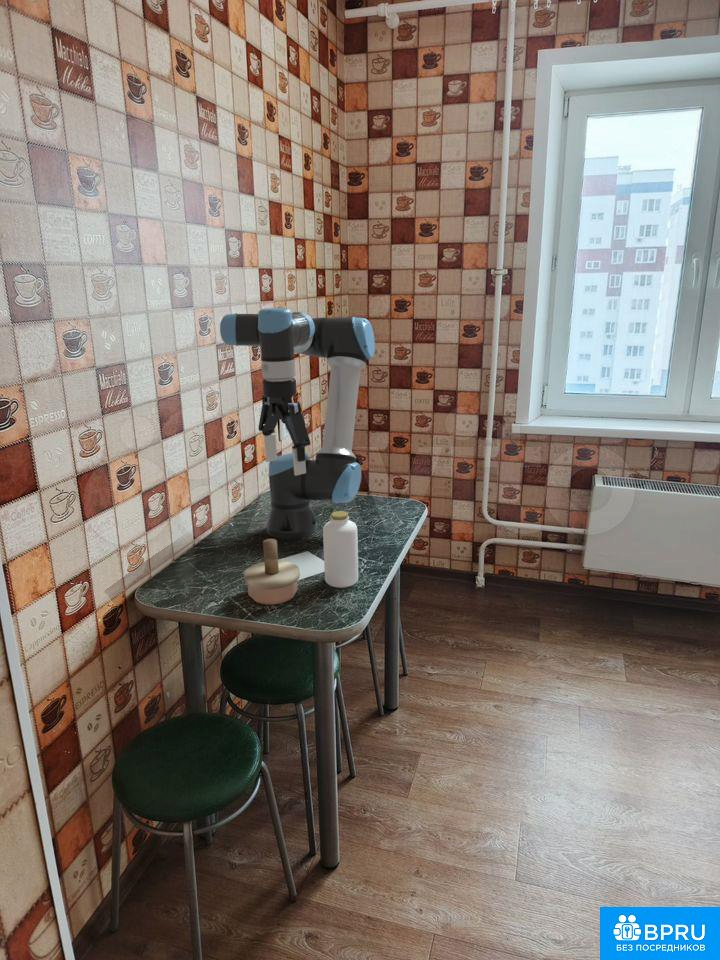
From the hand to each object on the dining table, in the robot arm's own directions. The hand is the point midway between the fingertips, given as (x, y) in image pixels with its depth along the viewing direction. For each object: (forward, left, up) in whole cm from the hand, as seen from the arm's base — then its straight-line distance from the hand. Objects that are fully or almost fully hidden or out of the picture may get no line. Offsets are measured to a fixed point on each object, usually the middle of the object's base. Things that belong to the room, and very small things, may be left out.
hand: (285, 467), depth 155 cm
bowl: (+5, -8, -29) cm, 31 cm away
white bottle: (+9, +9, -30) cm, 32 cm away
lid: (+5, -8, -24) cm, 26 cm away
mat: (-5, +5, -29) cm, 30 cm away
